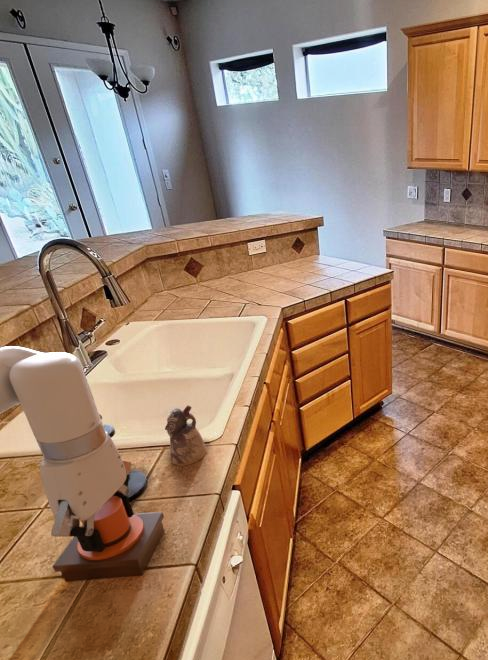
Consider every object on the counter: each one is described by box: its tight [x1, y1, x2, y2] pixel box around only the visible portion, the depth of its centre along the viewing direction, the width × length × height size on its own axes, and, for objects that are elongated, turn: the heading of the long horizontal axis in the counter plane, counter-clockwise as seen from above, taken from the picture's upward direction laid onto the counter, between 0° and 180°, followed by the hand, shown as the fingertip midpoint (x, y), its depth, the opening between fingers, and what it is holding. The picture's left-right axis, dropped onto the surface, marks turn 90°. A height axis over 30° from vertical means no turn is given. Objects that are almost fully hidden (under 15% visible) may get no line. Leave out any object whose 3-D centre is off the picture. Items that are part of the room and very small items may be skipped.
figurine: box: [164, 405, 206, 467], centre depth 92 cm, size 7×7×12 cm
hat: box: [77, 496, 144, 560], centre depth 67 cm, size 9×9×6 cm
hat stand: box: [103, 423, 149, 503], centre depth 81 cm, size 10×10×14 cm
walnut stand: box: [52, 511, 165, 583], centre depth 70 cm, size 12×10×4 cm
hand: (109, 531), depth 68 cm, fingers open, 6 cm apart
